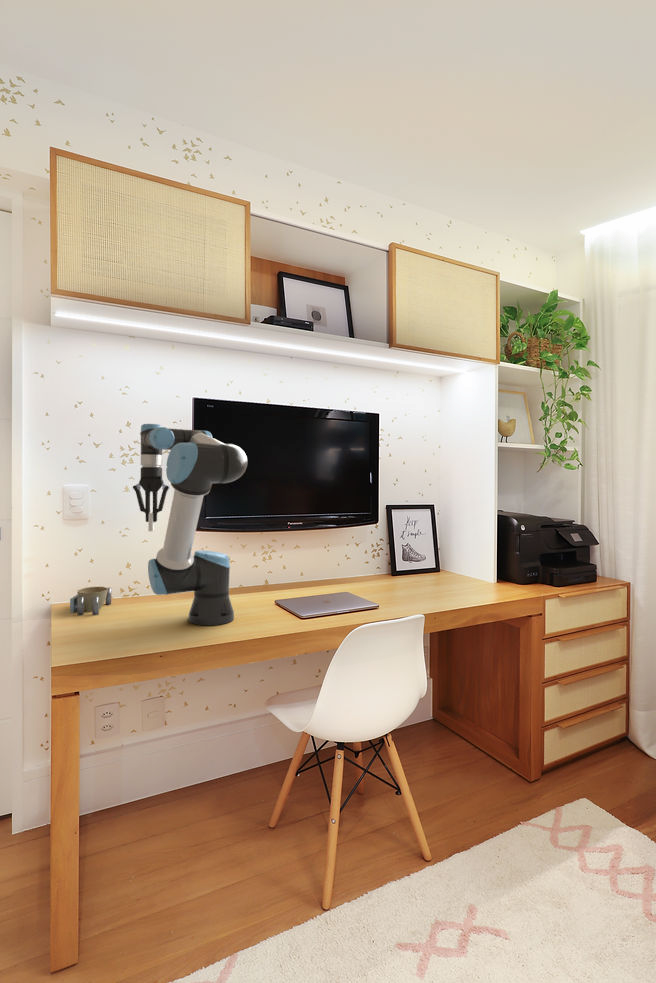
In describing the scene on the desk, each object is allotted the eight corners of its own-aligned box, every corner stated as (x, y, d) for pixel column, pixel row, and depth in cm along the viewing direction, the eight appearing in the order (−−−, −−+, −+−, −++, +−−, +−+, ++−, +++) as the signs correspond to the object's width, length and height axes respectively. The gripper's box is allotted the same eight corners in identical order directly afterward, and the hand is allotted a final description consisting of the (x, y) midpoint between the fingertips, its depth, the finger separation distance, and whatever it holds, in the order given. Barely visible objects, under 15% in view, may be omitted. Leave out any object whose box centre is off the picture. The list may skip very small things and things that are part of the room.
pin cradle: (111, 603, 197) (112, 587, 197) (97, 615, 181) (97, 598, 181) (83, 603, 196) (83, 587, 196) (66, 615, 180) (66, 598, 180)
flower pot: (88, 604, 195) (88, 585, 194) (113, 606, 193) (113, 587, 193) (71, 612, 185) (71, 591, 185) (96, 613, 183) (96, 593, 183)
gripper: (171, 467, 196) (171, 529, 197) (135, 466, 195) (135, 529, 195) (168, 466, 189) (167, 532, 190) (130, 466, 187) (130, 532, 188)
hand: (151, 530), depth 193 cm, fingers closed
